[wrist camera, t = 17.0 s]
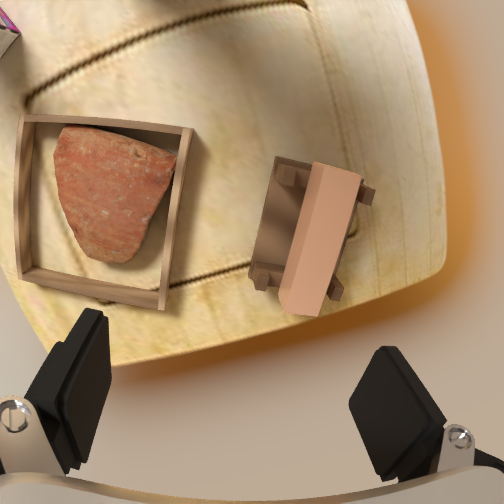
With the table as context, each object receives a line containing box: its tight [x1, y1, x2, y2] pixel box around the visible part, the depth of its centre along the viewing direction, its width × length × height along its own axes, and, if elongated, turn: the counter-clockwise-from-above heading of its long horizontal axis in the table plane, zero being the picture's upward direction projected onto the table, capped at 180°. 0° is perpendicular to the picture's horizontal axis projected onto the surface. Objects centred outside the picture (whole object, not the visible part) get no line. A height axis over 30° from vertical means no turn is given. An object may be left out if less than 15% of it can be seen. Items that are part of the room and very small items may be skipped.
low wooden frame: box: [14, 115, 193, 311], centre depth 34 cm, size 22×22×3 cm
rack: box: [248, 156, 375, 301], centre depth 36 cm, size 15×11×5 cm
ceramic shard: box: [54, 123, 178, 263], centre depth 33 cm, size 15×6×15 cm
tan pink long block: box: [278, 161, 362, 317], centre depth 33 cm, size 16×4×4 cm, turn 168°
